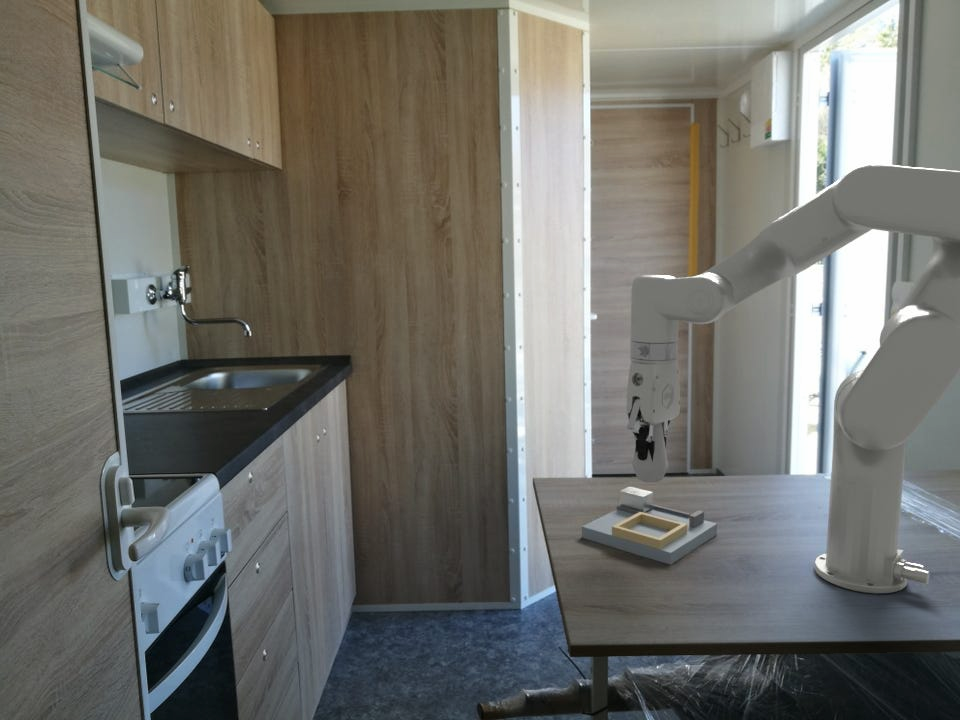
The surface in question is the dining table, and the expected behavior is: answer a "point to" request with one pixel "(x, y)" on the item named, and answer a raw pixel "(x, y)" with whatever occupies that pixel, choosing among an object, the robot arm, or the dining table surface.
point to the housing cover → (636, 499)
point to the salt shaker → (659, 466)
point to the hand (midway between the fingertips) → (650, 460)
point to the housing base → (651, 532)
